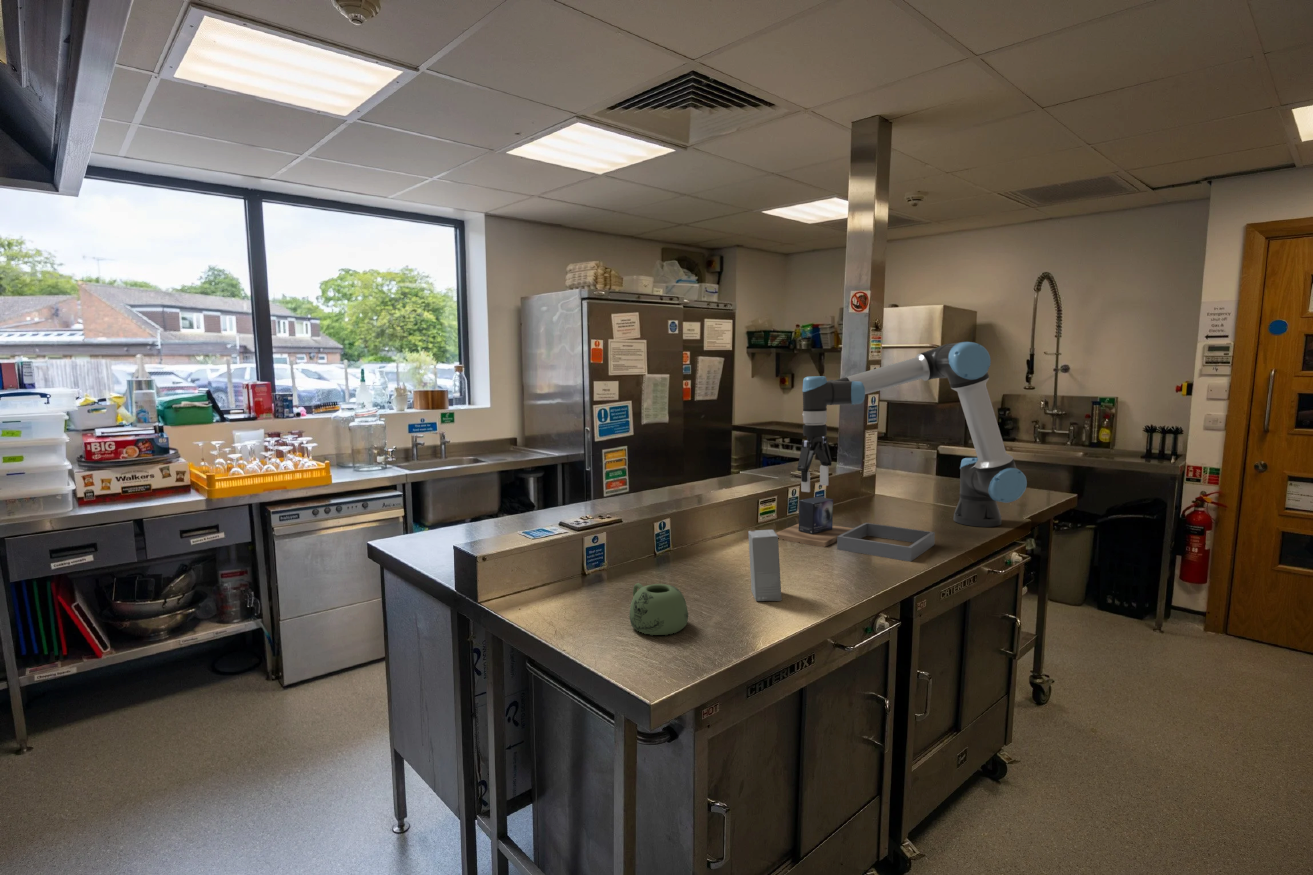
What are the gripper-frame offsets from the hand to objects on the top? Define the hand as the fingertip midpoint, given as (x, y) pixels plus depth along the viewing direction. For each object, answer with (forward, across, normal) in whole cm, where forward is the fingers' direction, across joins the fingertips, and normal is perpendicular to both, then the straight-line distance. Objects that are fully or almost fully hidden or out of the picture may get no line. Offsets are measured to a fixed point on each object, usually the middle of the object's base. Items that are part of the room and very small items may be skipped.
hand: (815, 488), depth 214 cm
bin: (+16, 0, +24) cm, 29 cm away
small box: (+14, -1, 0) cm, 15 cm away
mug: (+15, +90, +6) cm, 92 cm away
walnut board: (+16, 0, 0) cm, 16 cm away
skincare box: (+16, +60, +16) cm, 64 cm away
